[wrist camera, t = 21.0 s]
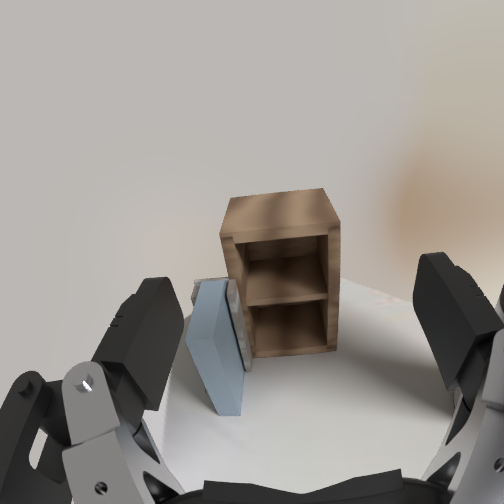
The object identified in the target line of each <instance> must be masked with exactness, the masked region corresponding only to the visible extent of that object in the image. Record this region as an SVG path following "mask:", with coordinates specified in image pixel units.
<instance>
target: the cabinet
mask: <svg viewBox="0 0 504 504" xmlns="http://www.w3.org/2000/svg"><path fill="white" fill-rule="evenodd" d="M219 234H220V239H221V244H222V248H223V253H224V258H225V262H226V267H227V272H228V276H229V277H222V278H210V279H199V280H195V281H194V284H195V287H194V290H193V293H192V296H191V300H192V303H193V306H194V305H195V302H196V298H197V295H198V292H199V288H200V285H201V282H206V281H218V280H225V283H226V288H227V298H228V302H229V306H230V310H231V314H232V318H233V322H234V326H235V330H236V334H237V338H238V342H239V346H240V350H241V354H242V358H243V361H244V365H245V369H246V371H251V368H252V358H263V357H277V356H289V355H300V354H310V353H320V352H328V351H336V347H337V332H338V315H339V293H340V220H339V218H338V216H337V214H336V212H335V210H334V208H333V206H332V204H331V203H330V200H329V199H328V197H327V195H326V193H325V191H324V189H323V188H320V189H309V190H298V191H288V192H278V193H269V194H261V195H252V196H244V197H236V198H231V199H230V202H229V205H228V208H227V211H226V214H225V217H224V220H223V223H222V227H221V230H220V233H219Z"/></svg>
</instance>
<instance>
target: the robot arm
mask: <svg viewBox="0 0 504 504" xmlns="http://www.w3.org/2000/svg"><path fill="white" fill-rule="evenodd" d="M413 307H414V310H415V313H416V315H417V317H418V320H419V322H420V324H421V326H422V329H423V331H424V333H425V335H426V338H427V340H428V342H429V345H430V347H431V350H432V352H433V355H434V357H435V360H436V362H437V365H438V367H439V370H440V372H441V375H442V378H443V380H444V383H445V386H446V389H447V391H449V390H452V389H455V391H454V405H455V408H456V409H455V411H454V414H453V417H452V420H451V422H450V425H449V427H448V430H447V432H446V435H445V437H444V439H443V442H442V444H441V446H440V448H439V450H438V452H437V454H436V455H435V457H434V458H433V460H432V461H431V463H430V464H429V466H428V467H427V469H426V471H425V472H424V474H423V476H422V478H421V480H419V479H414V478H405V477H402V474H401V469H397V470H392V471H388V472H383V473H378V474H373V475H367V476H361V477H354V478H352V479H349V480H346V481H343V482H341V483H338V484H335V485H332V486H329V487H326V488H323V489H320V490H316V491H313V492H310V493H305V494H297V493H292V492H287V491H282V490H277V489H272V488H268V487H263V486H259V485H255V484H250V483H229V482H216V481H206V480H204V486H203V489H200V490H196V491H191V492H188V493H186V492H185V491H184V489H183V488H182V486H181V485H180V483H179V482H178V480H177V479H176V478H175V477H174V475H173V474H172V473H171V472H170V471H169V469H168V468H167V466H166V464H165V462H164V460H163V458H162V456H161V455H160V453H159V451H158V449H157V447H156V444H155V442H154V440H153V438H152V436H151V434H150V432H149V430H148V428H147V425H146V423H145V421H144V419H143V418H142V416H143V413H144V410H153V411H158V409H159V405H160V402H161V399H162V396H163V392H164V389H165V386H166V383H167V379H168V376H169V373H170V370H171V367H172V363H173V360H174V357H175V354H176V351H177V348H178V345H179V341H180V338H181V335H182V332H183V328H184V318H183V313H182V310H181V307H180V305H179V302H178V300H177V297H176V294H175V292H174V289H173V286H172V283H171V281H170V279H169V278H168V277H157V278H146V279H144V280H143V282H142V283H141V285H140V287H139V289H138V290H137V292H136V294H132V295H131V296H130V297H129V298H128V299H127V300H126V301H125V302H124V303H122V305H121V306H120V308H119V310H118V312H117V313H116V315H115V318H114V319H113V321H112V322H111V324H110V327H109V328H108V329H107V331H106V333H105V335H104V337H103V339H102V341H101V343H100V344H99V346H98V348H97V350H96V352H95V354H94V356H93V358H92V360H91V361H88V362H83V363H80V364H78V365H76V366H74V367H73V368H72V369H71V370H69V372H68V373H67V374H66V376H65V377H64V379H63V380H58V381H52V382H46V381H45V380H44V379H43V378H42V376H41V375H40V374H39V373H38V372H36V371H28V372H25V373H23V374H22V375H20V376H19V377H18V378H17V379H16V380H15V382H14V383H13V385H12V387H11V389H10V391H9V393H8V394H7V397H6V399H5V401H4V403H3V405H2V407H1V409H0V504H71V501H72V497H73V500H74V503H75V504H504V285H503V288H502V291H501V294H500V296H499V299H498V302H497V304H496V307H495V309H494V308H493V306H492V305H491V304H490V302H489V300H488V299H487V297H486V296H484V293H483V292H482V290H481V289H480V287H478V285H477V283H476V282H475V281H474V279H473V278H472V276H471V275H470V274H469V273H467V272H466V271H465V270H463V269H462V268H460V267H459V266H454V264H453V263H452V261H451V260H450V259H449V258H448V256H447V255H446V254H445V253H444V252H437V253H428V254H422V255H421V256H420V259H419V264H418V269H417V275H416V280H415V286H414V291H413ZM39 428H40V429H41V430H43V431H44V432H45V433H46V434H48V437H47V439H46V442H45V445H44V448H43V450H42V453H41V456H40V459H39V462H38V466H37V468H36V469H33V468H32V466H31V465H30V462H29V453H30V450H31V447H32V445H33V442H34V439H35V437H36V434H37V432H38V429H39Z"/></svg>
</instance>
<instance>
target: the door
mask: <svg viewBox="0 0 504 504" xmlns="http://www.w3.org/2000/svg"><path fill="white" fill-rule="evenodd" d="M185 342H186V344H187V347H188V349H189V351H190V354H191V356H192V358H193V361H194V363H195V365H196V367H197V370H198V372H199V374H200V376H201V379H202V381H203V383H204V385H205V392H206V394H209V396H210V398H211V400H212V402H213V404H214V406H215V409H216V411H217V413H218V415H219V416H240V415H241V403H242V391H243V379H244V367H245V365H244V361H243V358H242V354H241V350H240V346H239V342H238V338H237V334H236V330H235V326H234V322H233V318H232V314H231V310H230V306H229V302H228V298H227V288H226V283H225V280H218V281H206V282H201V285H200V288H199V292H198V295H197V298H196V302H195V305H194V308H193V312H192V315H191V318H190V322H189V325H188V329H187V332H186V336H185Z"/></svg>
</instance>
